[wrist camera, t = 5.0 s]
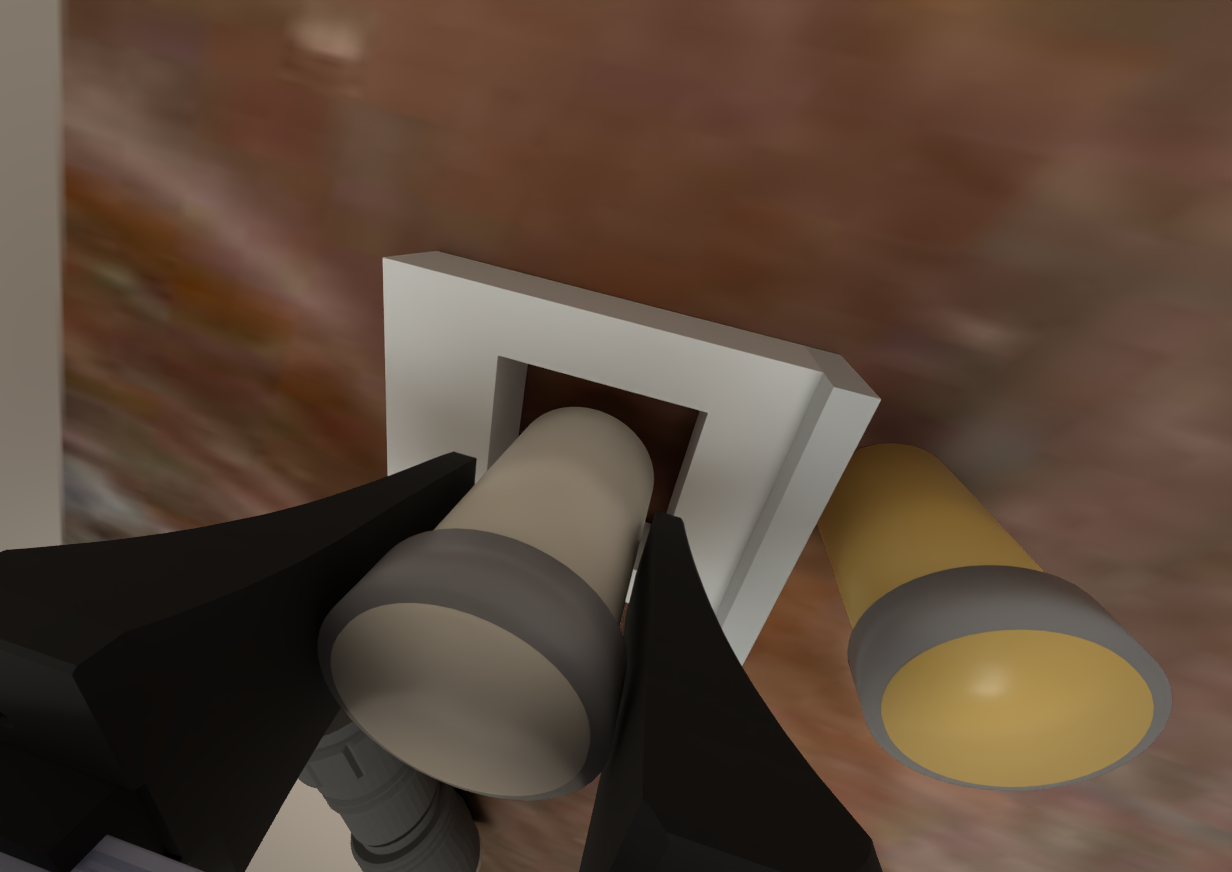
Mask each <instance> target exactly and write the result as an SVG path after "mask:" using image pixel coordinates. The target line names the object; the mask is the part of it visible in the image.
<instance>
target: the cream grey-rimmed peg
mask: <svg viewBox="0 0 1232 872" xmlns="http://www.w3.org/2000/svg"><path fill="white" fill-rule="evenodd" d="M653 486H654V470H653V465H652V462H651V459H650V456H649V453H648V452H647V450H646V448H645V446H644V444H643V443H642V441H641V440H640V439H639V437H638V436H637V435H636V434H635V433H634V432H633V431H632V430H631V429H630V428H629V427H628V426H627V425H625V424H624V423H622V422H621V421H620V420H618V419H616V418H615V417H613V416H611V415H609V414H606V413H604V412H601V411H599V410H595V409H591V408H584V407H565V408H559V409H556V410H552V411H550V412H547V413H545V414H543V415H541V416H540V417H538V418H537V419H535V420H534V421H533V422H532V423H531V424H530V425H529V426H528V427H527V428H526V429H525V430H524V431H523V432H522V434H521V435H520V436H519V437H518V438H517V439H516V440H515V441H514V442H513V443H512V444H511V446H510V447H509V448H508V449H507V450H506V451H505V452H504V453H503V454H502V455H501V457H500V458H499V459H498V460H497V461H496V462H495V463H494V464H493V465H492V466H491V468H490V469H489V470H488V471H487V472H486V473H485V474H484V475H483V476H482V477H481V478H480V480H479V481H478V482H477V483H476V484H475V485H474V486H473V487H472V488H471V489H470V491H469V492H468V493H467V494H466V495H465V496H464V497H463V498H462V499H461V500H460V501H459V503H458V504H457V505H456V506H455V507H454V508H453V509H452V510H451V511H450V512H449V514H448V515H447V516H446V517H445V518H444V519H443V520H442V521H441V522H440V523H439V525H438V526H437V527H436V528H435V529H434V530H433V531H428V532H423V533H420V534H417V535H414V536H412V537H409V538H407V539H406V540H404V541H402V542H400V543H398V544H397V545H396V546H395V547H393V548H392V549H391V550H390V551H389V552H388V553H387V554H386V555H385V556H384V557H383V558H382V559H381V560H380V561H379V562H378V563H377V564H376V565H375V566H374V567H373V568H372V569H371V570H370V571H369V572H368V573H367V574H366V575H365V576H364V577H363V578H362V579H361V580H360V581H359V582H358V583H357V584H356V585H355V586H354V587H353V588H352V589H351V590H350V591H349V592H348V593H347V594H346V595H345V596H344V597H343V598H342V599H341V600H340V601H339V602H338V603H337V604H336V605H335V606H334V607H333V608H332V610H331V611H330V612H329V613H328V615H327V616H326V617H325V619H324V621H323V623H322V626H321V628H320V631H319V636H318V658H319V664H320V668H321V671H322V673H323V676H324V679H325V681H326V683H327V685H328V687H329V689H330V691H331V693H332V694H333V696H334V697H335V699H336V700H337V702H338V704H339V705H340V706H341V708H342V709H343V710H344V711H345V713H346V714H347V715H348V716H349V718H350V719H351V720H352V721H353V722H354V723H355V724H356V725H357V726H358V727H359V728H360V729H361V730H362V731H363V732H364V733H365V734H366V735H368V736H369V737H370V738H371V739H372V740H373V741H374V742H376V743H377V744H378V745H380V746H381V747H382V748H383V749H385V750H386V751H387V752H389V753H390V754H392V755H393V756H395V757H396V758H398V759H399V760H401V761H402V762H404V763H406V764H408V765H409V766H411V767H413V768H414V769H416V770H418V771H420V772H422V773H424V774H426V775H428V776H430V777H432V778H434V779H437V780H439V781H441V782H444V783H446V784H449V785H451V786H454V787H457V788H460V789H463V790H466V791H470V792H473V793H477V794H481V795H485V796H490V797H495V798H502V799H511V800H544V799H550V798H556V797H560V796H564V795H567V794H570V793H573V792H575V791H577V790H579V789H581V788H583V787H585V786H586V785H587V784H589V783H590V782H592V781H593V780H594V779H595V778H596V777H597V776H598V775H599V774H600V772H601V771H602V769H603V768H604V766H605V764H606V763H607V760H608V757H609V754H610V751H611V746H612V741H613V737H614V732H615V727H616V722H617V717H618V712H619V707H620V703H621V698H622V693H623V688H624V683H625V678H626V672H627V653H626V647H625V643H624V639H623V636H622V633H621V631H620V628H619V625H620V621H621V617H622V613H623V609H624V605H625V601H626V597H627V593H628V589H629V585H630V581H631V577H632V572H633V568H634V564H635V560H636V556H637V552H638V548H639V544H640V540H641V536H642V532H643V528H644V524H645V520H646V516H647V512H648V508H649V504H650V500H651V496H652V491H653Z"/></svg>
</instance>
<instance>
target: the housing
mask: <svg viewBox="0 0 1232 872" xmlns="http://www.w3.org/2000/svg"><path fill="white" fill-rule="evenodd" d="M383 291H384V334H385V378H386V421H387V465H388V476H390V475H392V474H395V473H397V472H400V471H403V470H405V469H408V468H410V467H413V466H415V465H418V464H420V463H423V462H426V461H428V460H431V459H433V458H436V457H439V456H441V455H444V454H447V453H450V452H453V451H454V452H457V453H461V454H464V455H468V456H471V457H474V458H477V462H476V474H475V484H476V483H477V482H478V481H479V480H480V478H481V477H482V476H483V475H484V474H485V473H486V472H487V471H488V470H489V469H490V468H491V466H492V465H493V464H494V463H495V462H496V461H497V460H498V459H499V458H500V457H501V455H502V454H503V453H504V452H505V451H506V450H507V449H508V448H509V447H510V446H511V444H512V443H513V442H514V441H515V440H516V439H517V438H518V437H519V429H520V421H521V414H522V406H523V398H524V390H525V382H526V374H527V367H528V364H531V365H535V366H539V367H542V368H546V369H550V370H553V371H557V372H561V373H564V374H568V375H571V376H575V377H579V378H582V379H586V380H590V381H593V382H597V383H601V384H604V385H608V386H612V387H615V388H619V389H623V390H626V391H630V392H634V393H637V394H641V395H645V396H648V397H652V398H656V399H659V400H663V401H667V402H670V403H674V404H678V405H681V406H685V407H689V408H692V409H696V410H700V411H699V414H698V417H697V420H696V423H695V426H694V429H693V432H692V435H691V438H690V441H689V444H688V448H687V451H686V454H685V457H684V460H683V463H682V466H681V469H680V472H679V475H678V478H677V481H676V484H675V487H674V490H673V494H672V497H671V500H670V503H669V506H668V509H667V512H666V514H670V515H673V516H677V517H680V518H681V519H682V520H683V522H684V526H685V530H686V535H687V539H688V542H689V546H690V549H691V552H692V556H693V559H694V562H695V565H696V568H697V571H698V573H699V576H700V579H701V581H702V584H703V587H704V589H705V592H706V594H707V597H708V599H709V601H710V604H711V606H712V608H713V611H714V613H715V615H716V617H717V619H718V622H719V624H720V626H721V628H722V630H723V632H724V634H725V636H726V638H727V640H728V642H729V644H730V646H731V647H732V649H733V651H734V653H735V655H736V657H737V658H738V660H739V662H740V664H741V666H742V665H743V663H744V661H745V660H746V658H747V656H748V654H749V652H750V650H751V648H752V646H753V644H754V642H755V640H756V638H757V637H758V635H759V633H760V631H761V629H762V627H763V625H764V623H765V621H766V619H767V617H768V616H769V614H770V612H771V610H772V608H773V606H774V604H775V602H776V600H777V598H778V596H779V594H780V593H781V591H782V589H783V587H784V585H785V583H786V581H787V579H788V577H789V575H790V573H791V571H792V570H793V568H794V566H795V564H796V562H797V560H798V558H799V556H800V554H801V552H802V550H803V548H804V547H805V545H806V543H807V541H808V539H809V537H810V535H811V533H812V531H813V529H814V527H815V526H816V524H817V522H818V520H819V518H820V516H821V514H822V512H823V510H824V508H825V506H826V504H827V503H828V501H829V499H830V497H831V495H832V493H833V491H834V489H835V487H836V485H837V483H838V481H839V480H840V478H841V476H842V474H843V472H844V470H845V468H846V466H847V464H848V462H849V460H850V459H851V457H852V455H853V453H854V451H855V449H856V447H857V445H858V443H859V441H860V439H861V437H862V436H863V434H864V432H865V430H866V428H867V426H868V424H869V422H870V420H871V418H872V416H873V414H874V413H875V411H876V409H877V407H878V405H879V403H880V401H881V399H880V397H879V396H878V395H877V394H876V393H875V392H874V391H873V390H872V389H871V388H870V387H869V385H868V384H867V383H866V382H865V381H864V380H863V379H862V378H861V377H860V376H859V375H858V373H857V372H856V371H855V370H854V369H853V368H852V367H851V366H850V365H849V364H848V363H847V362H846V360H845V359H844V358H843V357H842V356H841V355H839V354H835V353H831V352H827V351H823V350H819V349H815V348H812V347H808V346H804V345H800V344H796V343H792V342H788V341H784V340H781V339H777V338H773V337H769V336H765V335H761V334H757V333H753V332H749V331H746V330H742V329H738V328H734V327H730V326H726V325H722V324H718V323H715V322H711V321H707V320H703V319H699V318H695V317H691V316H687V315H684V314H680V313H676V312H672V311H668V310H664V309H660V308H656V307H652V306H649V305H645V304H641V303H637V302H633V301H629V300H625V299H621V298H618V297H614V296H610V295H606V294H602V293H598V292H594V291H590V290H587V289H583V288H579V287H575V286H571V285H567V284H563V283H559V282H555V281H552V280H548V279H544V278H540V277H536V276H532V275H528V274H524V273H521V272H517V271H513V270H509V269H505V268H501V267H497V266H493V265H490V264H486V263H482V262H478V261H474V260H470V259H466V258H462V257H458V256H455V255H451V254H447V253H443V252H439V251H432V252H423V253H415V254H407V255H399V256H390V257H383ZM650 527H651V523H647V522H645V524H644V528H643V532H642V536H641V540H640V544H639V548H638V552H637V556H636V560H635V564H634V568H633V572H632V577H631V581H630V585H629V589H628V593H627V597H626V601H625V602H627V603H629V600H630V596H631V592H632V588H633V584H634V580H635V575H636V572H637V569H638V566H639V562H640V559H641V556H642V553H643V549H644V546H645V543H646V540H647V537H648V533H649V530H650Z"/></svg>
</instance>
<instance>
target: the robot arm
mask: <svg viewBox="0 0 1232 872" xmlns="http://www.w3.org/2000/svg"><path fill="white" fill-rule="evenodd" d="M476 462H477V458H474V457H471V456H468V455H464V454H461V453H457V452H454V451H453V452H450V453H447V454H444V455H441V456H439V457H436V458H433V459H431V460H428V461H426V462H423V463H420V464H418V465H415V466H413V467H410V468H408V469H405V470H403V471H400V472H397V473H395V474H392V475H390V476H387V477H384V478H382V479H379V480H377V481H374V482H371V483H368V484H365V485H362V486H359V487H356V488H353V489H350V490H348V491H345V492H342V493H339V494H336V495H333V496H330V497H327V498H324V499H320V500H317V501H314V502H310V503H307V504H303V505H299V506H296V507H292V508H288V509H284V510H280V511H276V512H272V513H268V514H264V515H260V516H255V517H250V518H245V519H240V520H235V521H230V522H225V523H220V524H215V525H211V526H206V527H200V528H194V529H188V530H182V531H176V532H169V533H163V534H156V535H149V536H141V537H134V538H127V539H118V540H110V541H101V542H91V543H80V544H69V545H59V546H48V547H37V548H27V549H13V550H5V551H2V552H0V872H245V870H246V869H247V867H248V865H249V863H250V861H251V859H252V858H253V856H254V854H255V852H256V850H257V849H258V847H259V845H260V843H261V842H262V840H263V838H264V836H265V835H266V833H267V831H268V829H269V828H270V826H271V824H272V822H273V820H274V819H275V817H276V815H277V813H278V812H279V810H280V808H281V806H282V804H283V803H284V801H285V799H286V798H287V796H288V794H289V792H290V791H291V789H292V787H293V786H294V784H295V782H296V781H297V779H298V777H299V776H300V774H301V772H302V771H303V769H304V767H305V766H306V764H307V762H308V760H309V759H310V757H311V755H312V754H313V752H314V750H315V749H316V747H317V745H318V744H319V742H320V740H321V739H322V737H323V735H324V734H325V732H326V731H327V729H328V728H329V726H330V724H331V723H332V721H333V720H334V718H335V716H336V715H337V713H338V712H339V710H340V708H341V706H340V705H339V704H338V702H337V700H336V699H335V697H334V696H333V694H332V693H331V691H330V689H329V687H328V685H327V683H326V681H325V679H324V676H323V673H322V671H321V668H320V664H319V658H318V636H319V631H320V628H321V626H322V623H323V621H324V619H325V617H326V616H327V615H328V613H329V612H330V611H331V610H332V608H333V607H334V606H335V605H336V604H337V603H338V602H339V601H340V600H341V599H342V598H343V597H344V596H345V595H346V594H347V593H348V592H349V591H350V590H351V589H352V588H353V587H354V586H355V585H356V584H357V583H358V582H359V581H360V580H361V579H362V578H363V577H364V576H365V575H366V574H367V573H368V572H369V571H370V570H371V569H372V568H373V567H374V566H375V565H376V564H377V563H378V562H379V561H380V560H381V559H382V558H383V557H384V556H385V555H386V554H387V553H388V552H389V551H390V550H391V549H392V548H393V547H395V546H396V545H397V544H398V543H400V542H402V541H404V540H406V539H407V538H409V537H412V536H414V535H417V534H420V533H423V532H428V531H433V530H434V529H435V528H436V527H437V526H438V525H439V523H440V522H441V521H442V520H443V519H444V518H445V517H446V516H447V515H448V514H449V512H450V511H451V510H452V509H453V508H454V507H455V506H456V505H457V504H458V503H459V501H460V500H461V499H462V498H463V497H464V496H465V495H466V494H467V493H468V492H469V491H470V489H471V488H472V487H473V486H474V485H475V474H476ZM623 639H624V643H625V647H626V653H627V672H626V678H625V683H624V688H623V693H622V698H621V703H620V707H619V712H618V717H617V722H616V727H615V732H614V737H613V741H612V746H611V751H610V754H609V757H608V760H607V763H606V764H605V766H604V768H603V769H602V772H601V776H600V781H599V785H598V790H597V794H596V799H595V803H594V808H593V812H592V817H591V821H590V826H589V830H588V835H587V839H586V844H585V848H584V852H583V857H582V861H581V866H580V870H579V872H883V871H882V869H881V866H880V863H879V860H878V857H877V855H876V851H875V848H874V845H873V842H872V839H871V838H870V837H869V835H868V834H867V833H866V832H865V831H864V830H863V828H862V827H861V826H860V825H859V824H858V822H857V821H856V820H855V819H854V818H853V816H852V815H851V814H850V813H849V812H848V811H847V809H846V808H845V807H844V806H843V805H842V803H841V802H840V801H839V800H838V799H837V798H836V796H835V795H834V794H833V793H832V792H831V790H830V789H829V788H828V787H827V786H826V785H825V783H824V782H823V781H822V780H821V779H820V777H819V776H818V775H817V774H816V772H815V771H814V770H813V769H812V767H811V766H810V765H809V763H808V762H807V761H806V760H805V758H804V757H803V756H802V754H801V753H800V752H799V750H798V749H797V748H796V746H795V745H794V744H793V742H792V741H791V740H790V738H789V737H788V736H787V734H786V733H785V732H784V730H783V729H782V727H781V726H780V725H779V723H778V722H777V720H776V719H775V717H774V716H773V714H772V713H771V711H770V710H769V708H768V707H767V705H766V704H765V702H764V701H763V699H762V698H761V696H760V695H759V693H758V692H757V690H756V689H755V687H754V686H753V684H752V682H751V681H750V679H749V677H748V676H747V674H746V672H745V671H744V669H743V667H742V666H741V664H740V662H739V660H738V658H737V657H736V655H735V653H734V651H733V649H732V647H731V646H730V644H729V642H728V640H727V638H726V636H725V634H724V632H723V630H722V628H721V626H720V624H719V622H718V619H717V617H716V615H715V613H714V611H713V608H712V606H711V604H710V601H709V599H708V597H707V594H706V592H705V589H704V587H703V584H702V581H701V579H700V576H699V573H698V571H697V568H696V565H695V562H694V559H693V556H692V552H691V549H690V546H689V542H688V539H687V535H686V530H685V526H684V522H683V520H682V519H681V518H680V517H677V516H673V515H670V514H666V513H663V512H660V511H655V514H654V517H653V521H652V524H651V527H650V530H649V533H648V537H647V540H646V543H645V546H644V549H643V553H642V556H641V559H640V562H639V566H638V569H637V572H636V575H635V580H634V584H633V588H632V592H631V596H630V600H629V605H628V609H627V614H626V621H625V629H624V637H623Z"/></svg>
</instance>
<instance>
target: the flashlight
mask: <svg viewBox="0 0 1232 872" xmlns="http://www.w3.org/2000/svg"><path fill="white" fill-rule="evenodd" d="M298 778H299V780H301V781H302V782H303V783H304V784H306V785H308V786H310V787H314V788H317V789H318V790H319V792H320V793H322V795H323V797H324V798H325V799H326V801H327V803H328V804H329V806H330V807H331V808H332V809H333V810H334V811H336V812H337V813H339V814H340V815H341V816H342V818H343V820H344V821H345V823H346V825H347V826H348V828H349V829H350V831H351V849H352V853H353V856H354V858H355V860H356V861H357V863H358V864H359V866H360V867H361V869H362V871H363V872H479V870H480V865H481V859H482V844H481V838H480V835H479V832H478V830H477V828H476V826H475V823H474V821H473V819H472V816H471V814H470V812H469V809H468V807H467V805H466V802H465V801H464V799H463V798H462V796H460V795H459V794H458V793H457V792H456V791H455V789H454V786H451V785H449V784H446V783H444V782H441V781H439V780H437V779H434V778H432V777H430V776H428V775H426V774H424V773H422V772H420V771H418V770H416V769H414V768H413V767H411V766H409V765H408V764H406V763H404V762H402V761H401V760H399V759H398V758H396V757H395V756H393V755H392V754H390V753H389V752H387V751H386V750H385V749H383V748H382V747H381V746H380V745H378V744H377V743H376V742H374V741H373V740H372V739H371V738H370V737H369V736H368V735H366V734H365V733H364V732H363V731H362V730H361V729H360V728H359V727H358V726H357V725H356V724H355V723H354V722H353V721H352V720H351V719H350V718H349V716H348V715H347V714H346V713H345V711H344V710H343V709H342V708H340V710H339V712H338V713H337V715H336V716H335V718H334V720H333V721H332V723H331V724H330V726H329V728H328V729H327V731H326V732H325V734H324V735H323V737H322V739H321V740H320V742H319V744H318V745H317V747H316V749H315V750H314V752H313V754H312V755H311V757H310V759H309V760H308V762H307V764H306V766H305V767H304V769H303V771H302V772H301V774H300V776H299V777H298Z"/></svg>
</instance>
